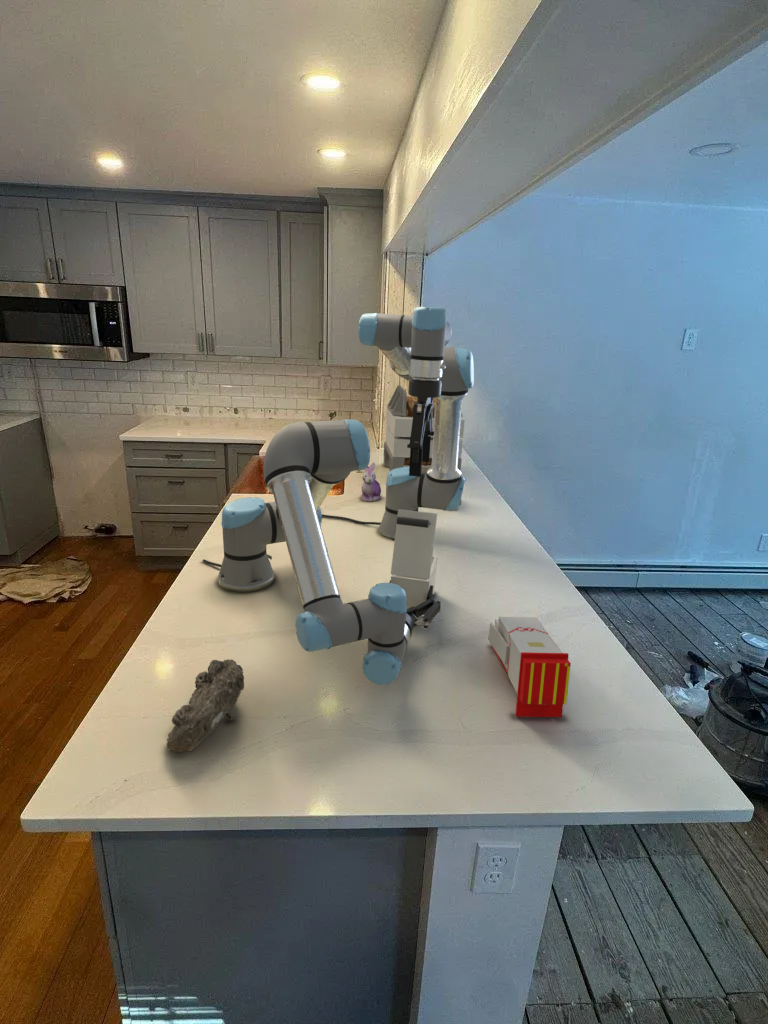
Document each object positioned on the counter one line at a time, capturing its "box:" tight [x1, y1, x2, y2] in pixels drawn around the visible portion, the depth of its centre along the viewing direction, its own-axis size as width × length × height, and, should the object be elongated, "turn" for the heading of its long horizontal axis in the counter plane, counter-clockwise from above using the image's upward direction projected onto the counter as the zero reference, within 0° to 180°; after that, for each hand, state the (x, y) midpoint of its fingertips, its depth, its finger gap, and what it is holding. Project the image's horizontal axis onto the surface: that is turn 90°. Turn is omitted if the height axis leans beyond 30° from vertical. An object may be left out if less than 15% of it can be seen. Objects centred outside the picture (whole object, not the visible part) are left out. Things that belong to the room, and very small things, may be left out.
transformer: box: [383, 384, 465, 472], centre depth 268 cm, size 34×33×41 cm
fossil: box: [166, 658, 245, 754], centre depth 106 cm, size 22×10×15 cm
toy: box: [487, 616, 572, 718], centre depth 123 cm, size 12×13×30 cm
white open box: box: [390, 555, 438, 619], centre depth 151 cm, size 16×10×11 cm, turn 168°
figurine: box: [360, 462, 382, 502], centre depth 233 cm, size 9×10×15 cm
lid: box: [390, 509, 438, 579], centre depth 138 cm, size 16×10×8 cm
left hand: (411, 587), depth 147 cm, fingers closed on white open box, 10 cm apart
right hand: (419, 468), depth 137 cm, fingers open, 13 cm apart
